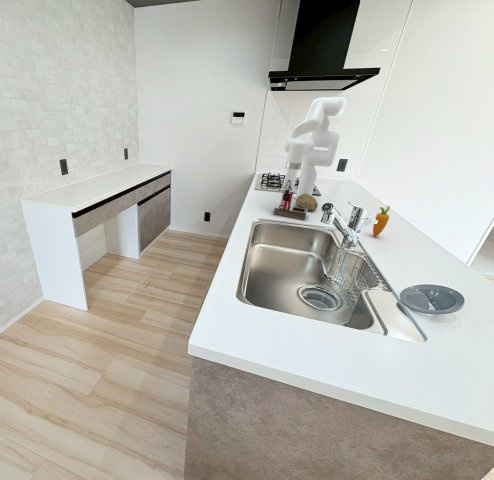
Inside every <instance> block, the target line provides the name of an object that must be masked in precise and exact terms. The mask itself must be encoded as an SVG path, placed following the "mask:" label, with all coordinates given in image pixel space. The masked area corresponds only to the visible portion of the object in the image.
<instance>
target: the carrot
mask: <svg viewBox="0 0 494 480" xmlns="http://www.w3.org/2000/svg"><path fill="white" fill-rule="evenodd" d="M379 209H380V210H381V212H378V213H377V214H376V215H375V218H374V220H375V219H376V220H378V223H377V224H374V223H373V225H372V234H373V237H378V236H379V235H380V234H381V233H382V232H383V231H384V229H385V228H386V226H387V224H388V222H389V219H390V215H389V214H387V213H388V212H389V211H390V209H391V206H390V205H387V207H386V209H385V208H384V207H382V206H379Z"/></svg>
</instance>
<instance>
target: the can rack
mask: <svg viewBox="0 0 494 480" xmlns="http://www.w3.org/2000/svg"><path fill="white" fill-rule="evenodd" d="M280 204H281V203H277V205H276V206H275V207H274V210H273V215H274V216H278V217H285V218H290V219H295V220H300V221H306V218H307V215H308V211H309V210H308V209H306V208H303V207H301V206H295V205H290V209H283V208H280Z"/></svg>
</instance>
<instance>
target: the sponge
mask: <svg viewBox="0 0 494 480" xmlns="http://www.w3.org/2000/svg"><path fill="white" fill-rule="evenodd" d="M295 202H296V204H297V205H298V207H300V208H306V209H308V211H314V210H316V209H317V208H318V206H319V203H318V201H317V199H316V198H315V197H314V196H313V195H312V196H310V195H309V194H302V195H300V196H298V197H297V199H295Z"/></svg>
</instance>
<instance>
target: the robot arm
mask: <svg viewBox="0 0 494 480" xmlns="http://www.w3.org/2000/svg"><path fill="white" fill-rule="evenodd" d="M346 107H347V99H346V97H342V96H340V97H336V96H335V97H333V96H332V97H331V96H330V97H329V96H328V97H325V96H324V97H317V98H315V99H313V100H312V103H311V105H310V107H309V109H308V111H307V115H306V116H305V119H304V121H302V122H301V123H299V124H298V125H296V126H295V127H294V128H292V130H291V131H290V132H289V134H288V136H287V138H286V140H285V143H284V149H283V150H284V151H285V152H286V153H287V159H286V163H285V169H286V171H285V176H284V180H283V184H282V188H283V189H285V192H284V195H283V200H284V201H289V198H290V191H291V190H293V188H294V187H295V184H296V181H297V178H298V173H299V171H300V170H301V172H300V176H299V181H298V184H297V189H296V193H295V194H293V196H292V198H293V199H295V200H296V199H297V197H298V196H300V195H302V194H309V195H310V196H312V197H313V192H314V189H315V185H316V181H317V178H318V169H317V166H318V167H325V168H328V167H331V166H332V165H333V164H334V162H335V158H336V155H337V152H338V148H339V145H340V141H341V133H340V132H339V131H335V130H329V129H330V128H329V127H330V125H331V119H330V117H337V116H340V115H341V114H342V113H343V112H344V111H345V110H346ZM308 133H310V139H308V138H298V137H300V136H303V135H305V134H308ZM319 148H323V149H319ZM325 148H326V149H325ZM289 189H290V190H289Z"/></svg>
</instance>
